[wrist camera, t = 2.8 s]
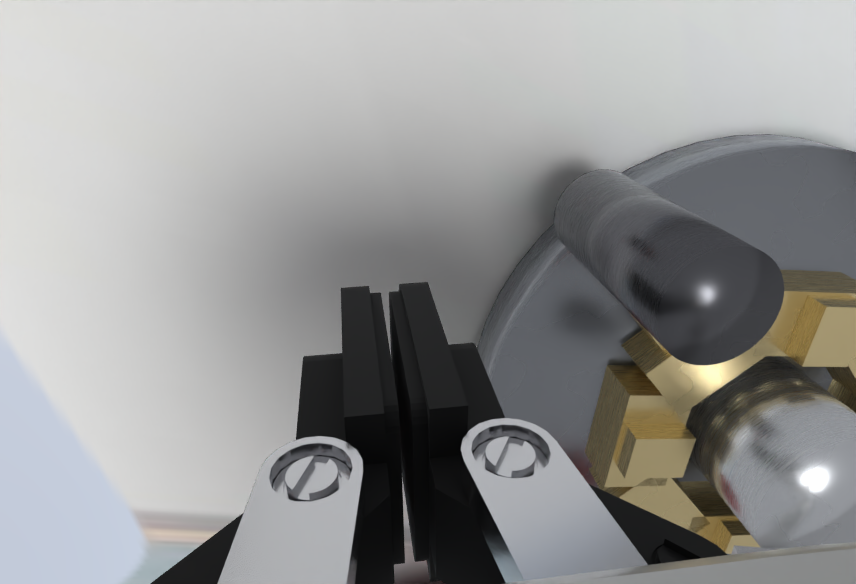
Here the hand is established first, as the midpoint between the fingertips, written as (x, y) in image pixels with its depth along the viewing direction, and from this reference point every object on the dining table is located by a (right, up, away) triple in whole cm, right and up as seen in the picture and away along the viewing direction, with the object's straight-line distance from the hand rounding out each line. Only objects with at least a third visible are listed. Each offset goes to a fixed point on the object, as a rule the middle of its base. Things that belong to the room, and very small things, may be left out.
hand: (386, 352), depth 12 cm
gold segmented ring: (+9, -1, +7) cm, 12 cm away
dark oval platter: (+11, -2, +10) cm, 15 cm away
